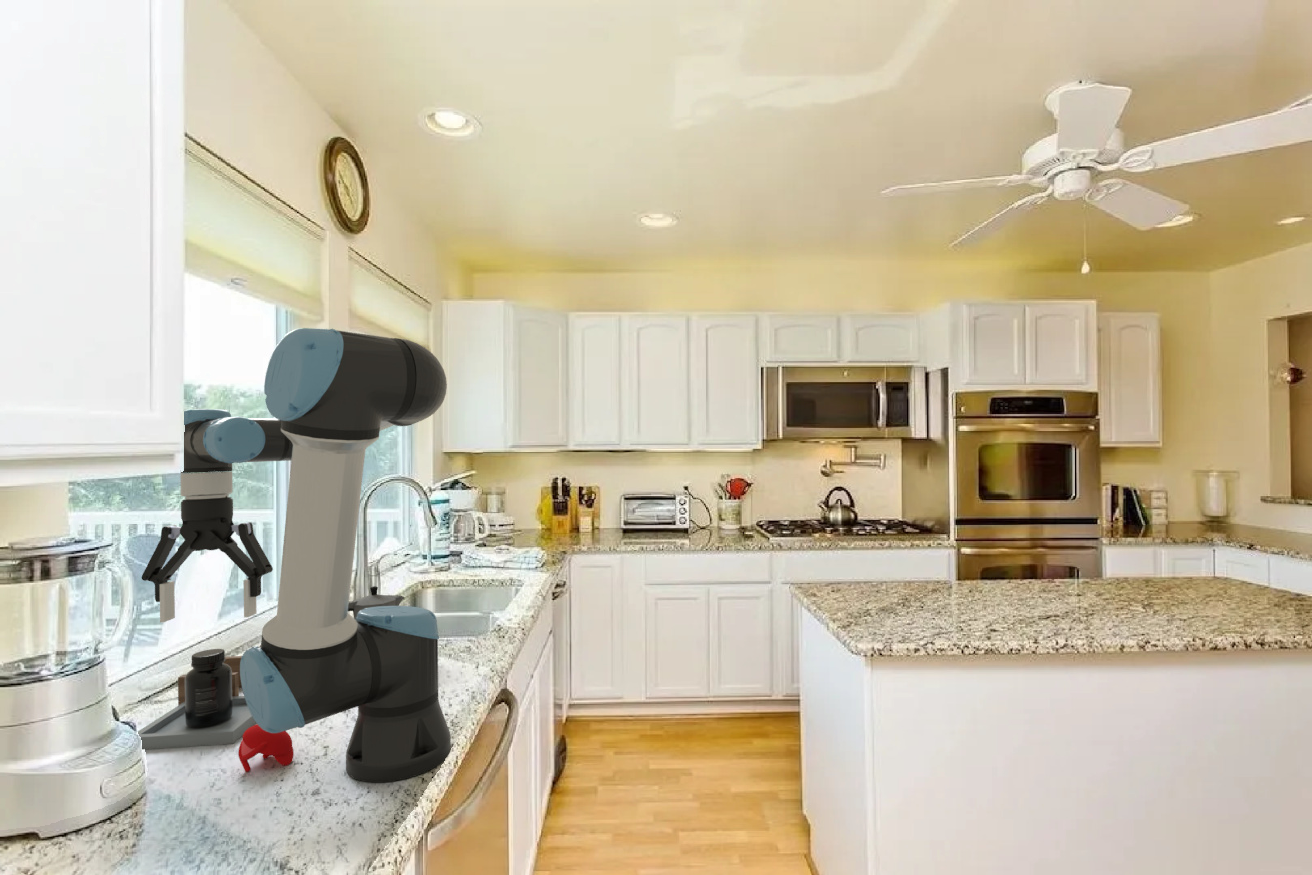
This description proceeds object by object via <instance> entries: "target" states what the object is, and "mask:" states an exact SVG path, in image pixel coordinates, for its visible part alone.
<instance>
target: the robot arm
mask: <svg viewBox="0 0 1312 875" xmlns="http://www.w3.org/2000/svg"><path fill="white" fill-rule="evenodd" d="M447 385H448V384H447V377H446V373H445V369H444V368H443V366H442V364H441V362H440V361H439V359H438V358H437V356H435V354H433V353H432V352H431V351H430V350H429V349H427V348H426V347H425V346H423V345H421V344H419V343H417V342H414V341H412V340H409V339H404V338H399V337H398V338H397V337H394V338H393V337H387V336H380V335H372V334H366V333H364V334H363V333H357V332H351V331H343V330H339V329H338V330H336V329H334V328H317V327H315V328H314V327H310V328H309V327H301V328H300V327H299V328H296V329H293V330H291V331H289V332H287V333H286V334H285V335H284V336H283V337H282V338H281V340H280V341H279V342H278V343H277V345H275V348H274V349H273V351H272V352H271V356H270V358H269V361H268V364H267V368H266V372H265V376H264V386H263V387H264V389H263V392H264V394H265V395H266V397H265V404H266V409H267V410H268V412H269V414H270V415H271V416H272V417H273V418H260V417H259V418H256V417H254V418H253V417H251V418H250V417H249V418H248V417H244V416H232V415H231V412H229V411H228V410H226V409H216V408H215V409H214V408H196V409H185V410H183V411H184V425H185V432H184V471H183V472H181V471H180V496H181V497H184V499H181V501H180V518H181V521H182V524H181V526H177V525H175V524H172V525H167V526H163V527H162V528H161V532H160V539H159V542H158V544H157V545H156V548H155V550H154V551H153V553H152V555H151V557H150V559H149V561H148V564H147V565H146V567H145V569H144V571H143V573H142V574H141V580H142V581H144V582H147V581H148V582H151V583H153V584H154V600H155V602H156V603H159V622H160V623H166V622H168V621H171V620H174V619H175V617H176V615H175V614H176V611H175V610H176V609H175V608H176V606H175V604H176V602H175V601H176V600H175V581H174V580H172V576H173V575H174V574H175V573H176V572H177V571H178V569H179V568H180V567H181V566H182V565H183V564H184V562H185V561H186V560H187V559H188V558H189V557H190V556H191V554H192V553H193V552H198V551H199V552H200V551H204V550H207V551H216V550H219V551H220V552H222V553H224V554H225V555H226V556H227V557H228V558H229V559H230V560H231V562H233V563H234V564H235V565H236V566H237V567H238V569H240V570H241V572H243V574H244V575H246V579H243V580H242V581H243V618H250V617H252V616H255V615H256V614H257V612H258V611H257V597H258V596H261V594H262V577H263V576H265V575H266V574H269V573H271V572H273V570H274V569H273V566H272V564H271V562H270V560H269V559H268V557H267V555H266V553H265V552H264V550H263V548H262V547H261V544H260V543H259V541H258V539H257V537H256V536H255V533H254V526H253V523H252V522H250V521H247V522H246V521H245V522H242V523H239V524H235V523H234V522H233V516H234V499H233V498H232V497H231V496H229V495H231V494H232V493H233V464H241V463H257V462H258V463H259V462H263V463H264V462H281V461H282V462H283V461H284V462H285V461H291V462H290V470H289V473H290V474H289V480H288V481H289V482H288V492H287V493H288V494H287V504H286V511H285V512H286V513H285V524H284V525H285V526H284V536H283V547H282V558H281V564H280V565H281V567H280V578H279V586H278V588H279V589H278V598H277V599H278V601H277V611H276V615H275V616H274V617H272V618H271V619H269V620H268V621H267V622H266V623H265V624H264V625H263V627H262V631H261V640H260V645H259V646H251V648H248V649H247V650H245V651H243V655H241V656H242V658H241V662H240V678H241V684H242V687H241V690H242V693H243V696H244V697H245V700H246V703H247V706H248V708H249V711H250V713H251V715H252V716H253V718H254V720H255V722H256V723H257V724H258V725H259V726H260V727H261V728H262V729H263V730H264V731H266V732H269V733H280V732H283V731H286V732H287V731H290V730H292V729H297V728H298V729H301V728H304V727H305V726H306V725H308V724H312V723H314V722H318V721H320V720H324V719H326V718H328V717H331V716H335V715H337V714H340V713H344V712H345V711H349V710H352V709H354V708H358V709H357V718H356V720H355V724H354V727H353V728H352V733H351V736H350V738H349V743H348V746H347V749H346V752H345V771H346V773H347V774H348V776H349V777H351V778H353V779H355V780H358V781H362V782H369V783H370V782H371V783H386V782H387V783H388V782H394V781H400V780H406V779H409V778H413V777H415V776H418V775H422V774H424V773H427V772H428V771H430V770H432V769H434V768H436V767H437V766H439V765H440V764H441V763H443V762H444V761H445V760H446V759H447V758H448V757H449V755H450V753H451V750H452V748H451V745H452V744H451V733H450V732H451V731H450V729H449V727H448V724H447V722H446V721H447V720H446V717H445V716H444V713H443V710H442V707H441V704H440V702H439V642H438V641H439V639H440V635H439V631H438V630H439V629H438V622H437V621H438V620H437V617H436V615H435V614H434V612H432V611H431V610H429V609H427V608H424V607H418V606H411V605H410V606H409V605H408V606H407V605H399V606H378V607H370V608H365V609H363V610H360V611H359V612H358V614H357V617H356V620H355V619H354V616H353V615H351V614H350V613H349V611H348V604H349V602H350V593H351V585H352V578H353V577H352V574H353V568H354V558H355V557H354V556H355V549H356V548H355V547H356V539H357V528H358V520H359V513H360V512H359V511H360V510H359V509H360V503H361V491H362V482H363V475H364V473H363V472H364V465H365V458H366V457H365V456H366V449H367V448H368V447H369V446H371V445H372V444H374V443H375V442H376V441H377V440H379V438H380V432H381V431H383V430H385V429H389V428H391V427H393V426H396V427H409V426H412V425H414V424H417V423H419V422H421V421H424V420H426V419H427V418H429V417H431V416H432V415H434V414H435V413H436V412H437V410H439V409H440V407H441V406H442V404H443V403H444V401H445V397H446V395H447ZM234 533H235V534H236V536H238V537H239V539H240V541H241V543H242V545H243V547H244V548H245V550H246V552H247V553H248V554H246V553H245V552H244V551H243V550H242V549H241V548H240V547H239V546H238V543H237V542H236V541H235V539H233V537H232V536H233V534H234ZM180 536H181V537H182V538H183V539H184V540H183V541H182V543H181V545H180V546H179V547H178V548H177V551H175V553H174V554H173V555H172V556H171V557H170V559H169V560H168V561H167V559H168V557H169V555H170V553H171V551H172V549H173V548H174V546H175V543H176V541H177V539H178V538H179V537H180ZM165 562H166V563H165ZM257 724H256V725H257Z"/></svg>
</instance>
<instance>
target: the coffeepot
mask: <svg viewBox="0 0 1312 875" xmlns="http://www.w3.org/2000/svg"><path fill="white" fill-rule="evenodd" d="M369 589H370V595H367V596H364V597H360V598H357V599H353V600H352V601H351V600H349V604H348V612H352V613H353V614H352V615H353V618H354V619H355V620H356V617H357V614H358V612H359V611H360V610H363V609H365V608H370V607H378V606H400V604H401V602H402V601H403V600H404V599H405V597H404V596H403V595H395V594H388V595H387V594H386V595H385V594H378V590H379V587H378V586H375V585H374V586H372V587H370V588H369Z"/></svg>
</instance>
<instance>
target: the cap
mask: <svg viewBox="0 0 1312 875" xmlns="http://www.w3.org/2000/svg"><path fill="white" fill-rule="evenodd" d="M241 738H242V739H241V740H240V743H239V747H238V758H239V761H240V764H241V766H242V767H243V770H244V772H245V773H249V772H250V771H251V770H252V768H251V765H250V763H249V761H248V760H250V759H252V758H254V757H255V756H257V755H258V754H260V755H261V754H262V758H263V759H268V758H270V757H273V758H274V759H275V761H276V762H277V763H278V764H279V765H281V766H284V767H285V766H289V765H290V764H291V763H292V762H293V760H294V748H293V739H292V738H291V735H290V734H289V733H288V732H287V730H286V731H283V732H280V733H269V732H266V731H264V730H263V729H262V728H261V727H260V726H259V725H258V724H256V725H254V726H252V727H250V728H248V729H247V730H246V731H245V732H244V734H243V736H241Z"/></svg>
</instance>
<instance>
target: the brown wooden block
mask: <svg viewBox="0 0 1312 875" xmlns="http://www.w3.org/2000/svg"><path fill="white" fill-rule="evenodd" d="M242 656H243V655H236V656H234V655H233V656H225V661H224V663H225V664H227V665H229V666H230V667H231V669H232V696H240V695H239V693H240V692H239V690H240V688H242V684H241V678H240V662H241V658H242ZM186 675H187V674H182V675H180V676H178V677H177V698H178V699H177V700H178V701H177V702H178V703H177V704H178V705H177V706H179V705H180V704H182V703H183V702H185V676H186Z"/></svg>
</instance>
